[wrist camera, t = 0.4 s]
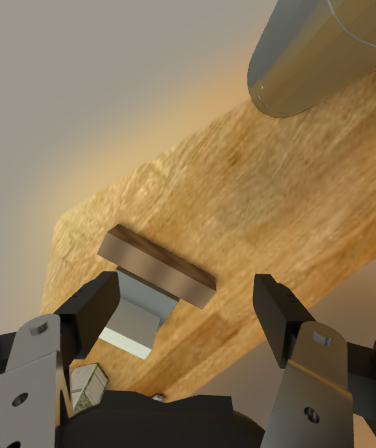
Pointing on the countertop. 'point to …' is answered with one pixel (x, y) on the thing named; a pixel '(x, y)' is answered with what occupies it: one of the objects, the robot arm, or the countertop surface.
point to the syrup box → (87, 386)
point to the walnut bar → (157, 266)
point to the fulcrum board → (146, 294)
